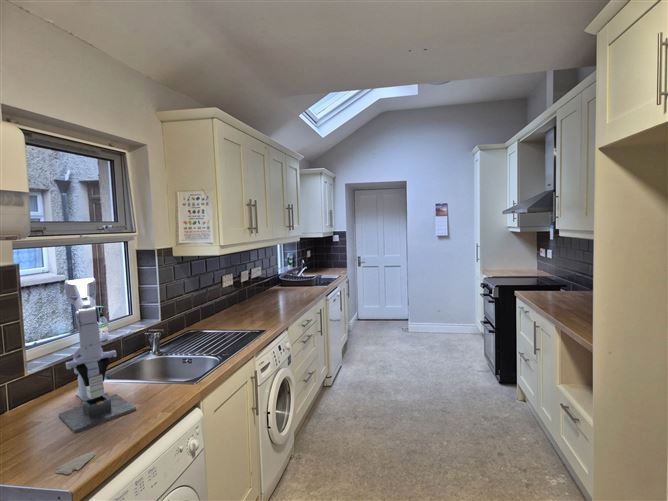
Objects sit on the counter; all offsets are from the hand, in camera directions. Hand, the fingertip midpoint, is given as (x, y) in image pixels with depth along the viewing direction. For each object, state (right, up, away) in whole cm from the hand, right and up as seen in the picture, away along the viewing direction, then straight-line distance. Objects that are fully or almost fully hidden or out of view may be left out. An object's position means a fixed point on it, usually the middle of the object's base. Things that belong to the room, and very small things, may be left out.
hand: (94, 383), depth 132 cm
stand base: (+1, -10, +1) cm, 10 cm away
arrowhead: (+13, -12, -28) cm, 33 cm away
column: (0, -4, 0) cm, 4 cm away
